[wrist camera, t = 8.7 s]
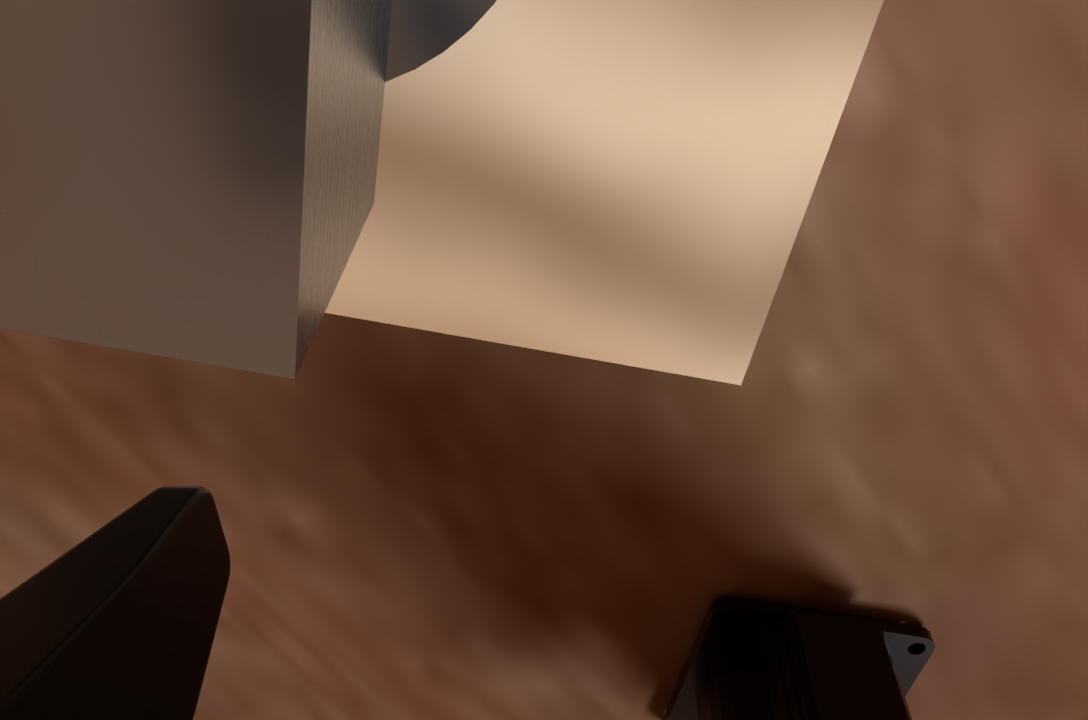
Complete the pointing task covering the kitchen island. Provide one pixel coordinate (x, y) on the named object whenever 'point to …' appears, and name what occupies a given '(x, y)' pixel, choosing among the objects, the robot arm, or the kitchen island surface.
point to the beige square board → (606, 176)
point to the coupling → (195, 165)
